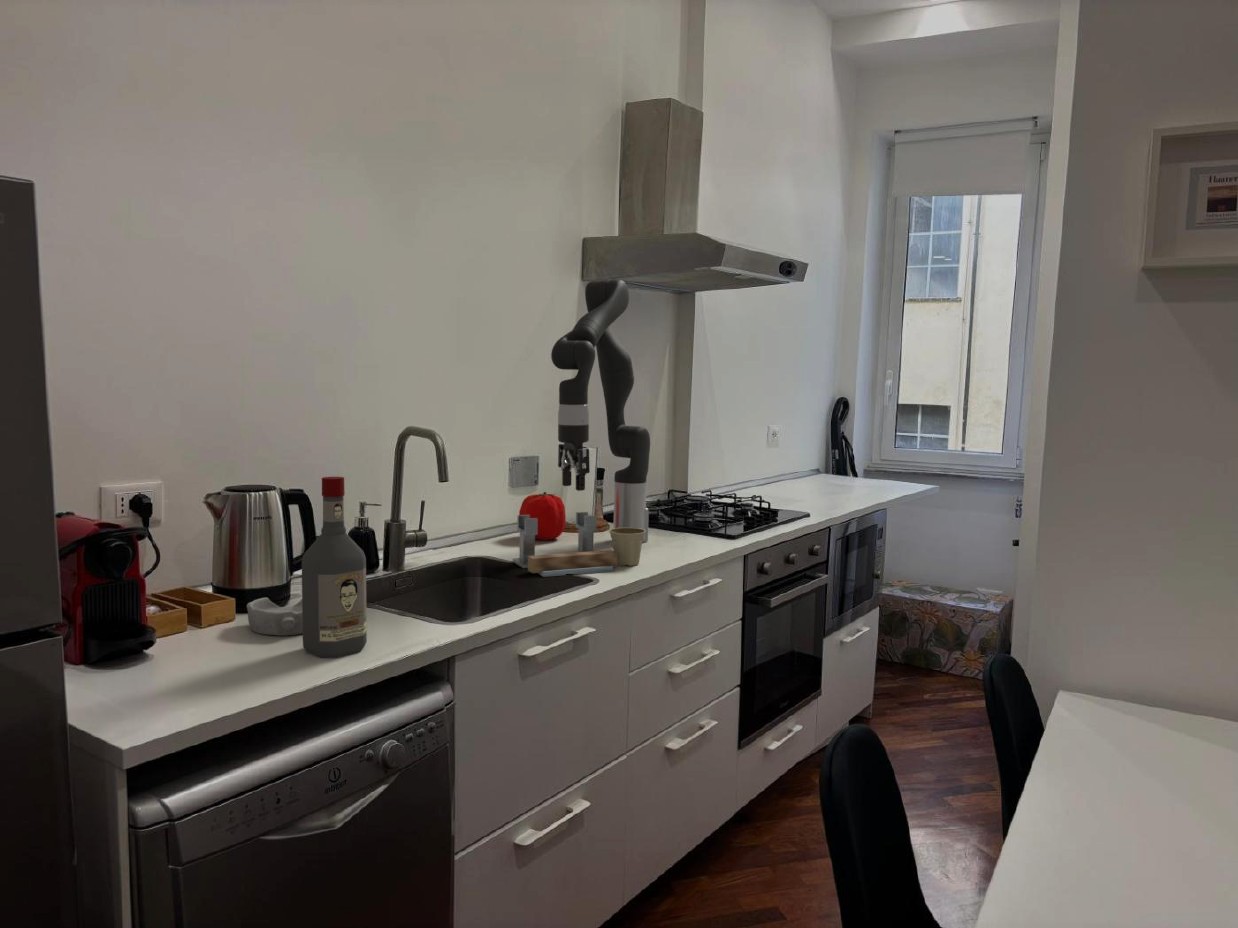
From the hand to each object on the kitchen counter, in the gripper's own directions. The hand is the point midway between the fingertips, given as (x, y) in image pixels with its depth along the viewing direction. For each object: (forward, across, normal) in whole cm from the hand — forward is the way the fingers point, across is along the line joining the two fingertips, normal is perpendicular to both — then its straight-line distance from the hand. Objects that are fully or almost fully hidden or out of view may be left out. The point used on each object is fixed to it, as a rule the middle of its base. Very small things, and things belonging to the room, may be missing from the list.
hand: (573, 488), depth 227 cm
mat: (+20, -4, +2) cm, 20 cm away
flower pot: (+20, -2, -14) cm, 25 cm away
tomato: (+21, +39, -7) cm, 44 cm away
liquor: (+18, -47, +65) cm, 82 cm away
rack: (+20, +7, +2) cm, 21 cm away
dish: (+18, -30, +70) cm, 79 cm away
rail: (+19, -4, +2) cm, 20 cm away
